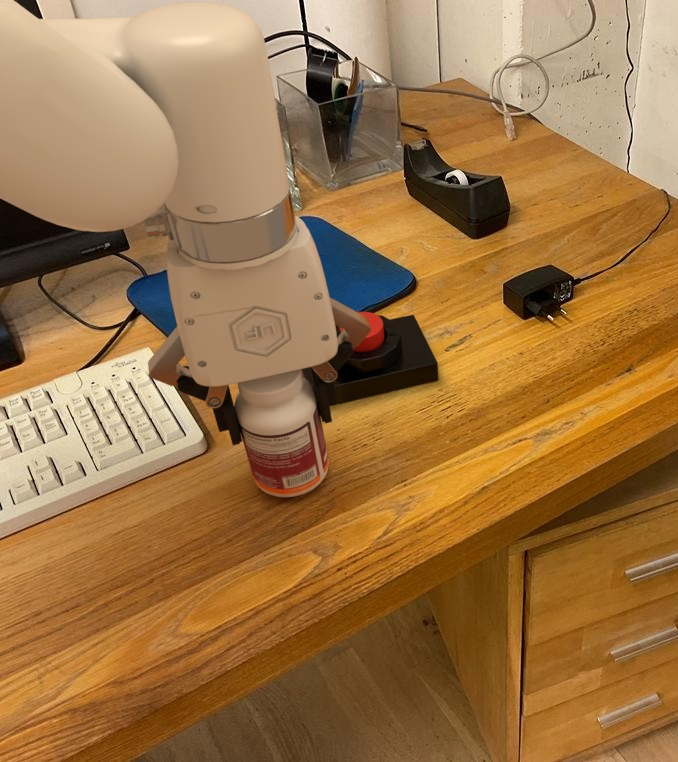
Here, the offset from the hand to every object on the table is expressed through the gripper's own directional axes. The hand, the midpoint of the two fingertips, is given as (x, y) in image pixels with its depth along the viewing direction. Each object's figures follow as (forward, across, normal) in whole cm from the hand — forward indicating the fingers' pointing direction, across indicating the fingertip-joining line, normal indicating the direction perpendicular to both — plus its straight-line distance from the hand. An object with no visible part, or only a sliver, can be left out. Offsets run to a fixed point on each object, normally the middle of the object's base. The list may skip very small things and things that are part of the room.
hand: (280, 420), depth 63 cm
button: (+3, +9, +11) cm, 15 cm away
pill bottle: (+6, 0, 0) cm, 6 cm away
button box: (+7, +9, +12) cm, 16 cm away
